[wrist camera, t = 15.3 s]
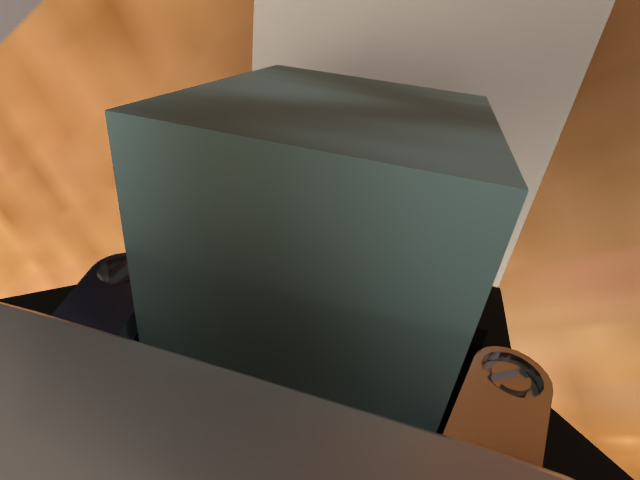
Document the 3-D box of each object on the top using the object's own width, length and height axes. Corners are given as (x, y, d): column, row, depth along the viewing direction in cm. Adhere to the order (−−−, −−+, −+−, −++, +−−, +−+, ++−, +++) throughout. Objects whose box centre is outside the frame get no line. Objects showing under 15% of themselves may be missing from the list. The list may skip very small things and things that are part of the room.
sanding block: (486, 95, 9) (529, 190, 4) (404, 377, 14) (377, 588, 9) (277, 64, 10) (104, 109, 5) (263, 337, 15) (163, 506, 10)
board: (673, -192, 13) (706, -224, 11) (458, 358, 25) (458, 383, 23) (282, -209, 15) (261, -236, 14) (257, 302, 27) (244, 321, 26)
